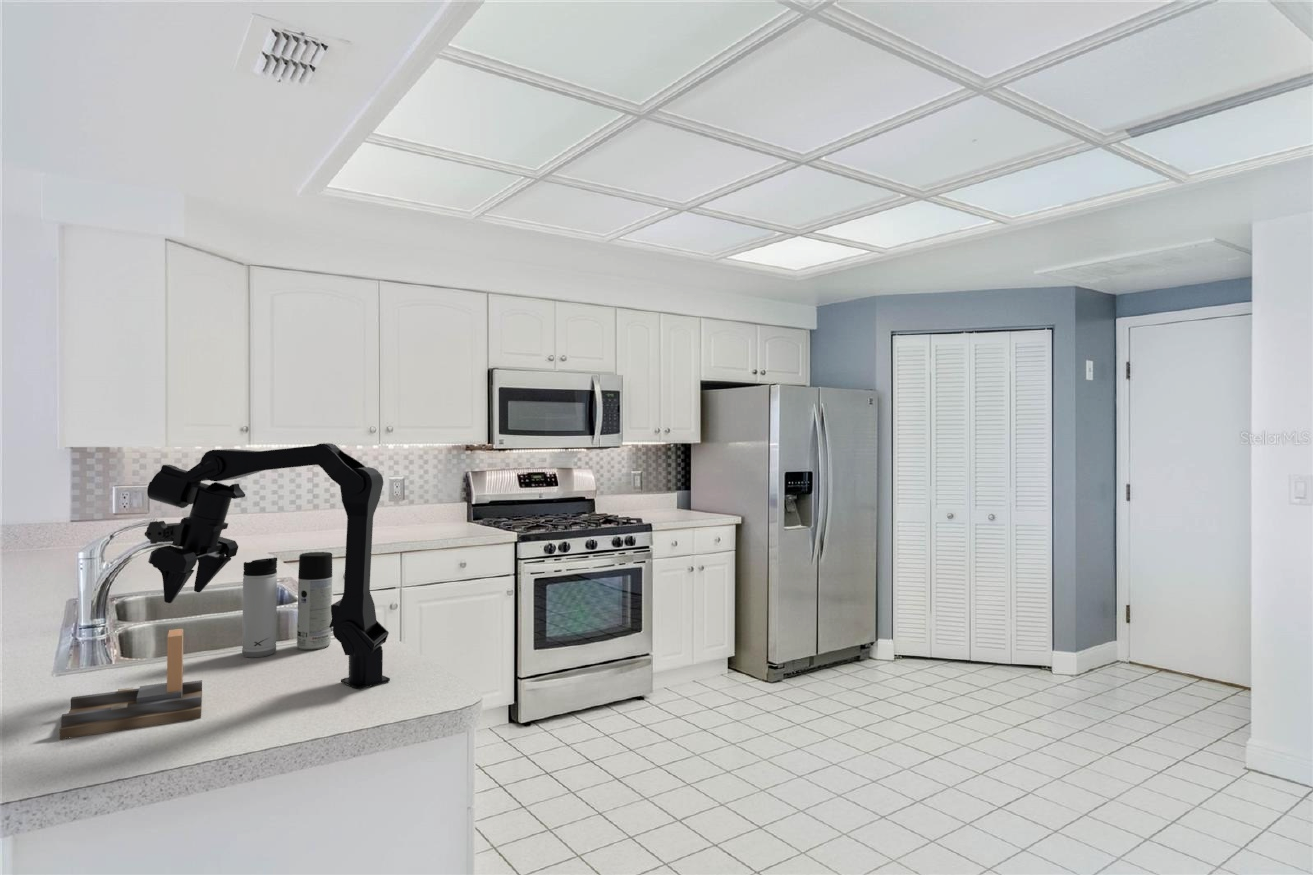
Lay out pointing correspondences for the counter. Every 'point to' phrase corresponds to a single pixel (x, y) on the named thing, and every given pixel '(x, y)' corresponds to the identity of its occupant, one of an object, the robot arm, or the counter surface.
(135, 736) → the counter surface
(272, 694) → the counter surface
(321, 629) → the spray can
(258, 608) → the travel mug
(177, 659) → the fader tab
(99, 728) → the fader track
